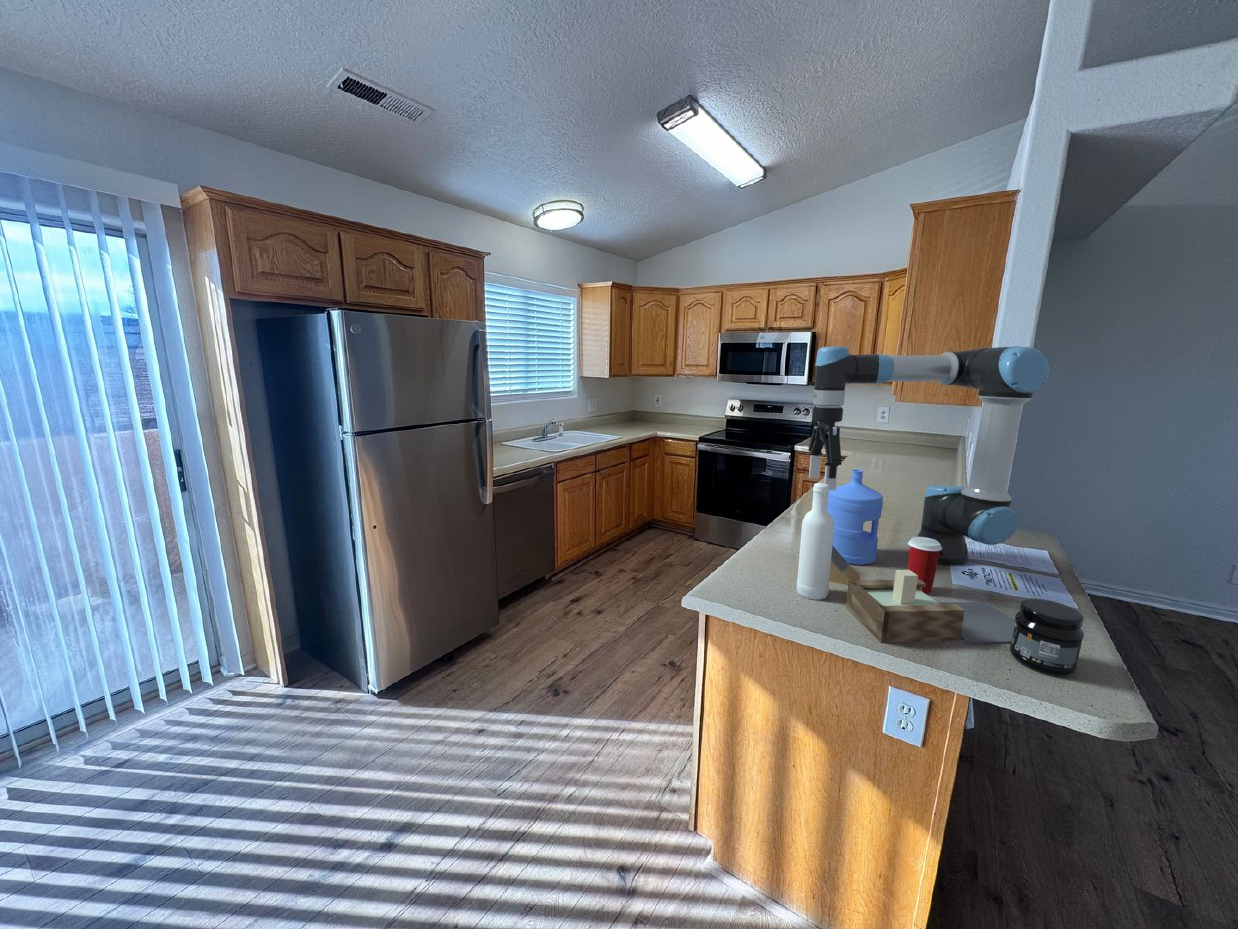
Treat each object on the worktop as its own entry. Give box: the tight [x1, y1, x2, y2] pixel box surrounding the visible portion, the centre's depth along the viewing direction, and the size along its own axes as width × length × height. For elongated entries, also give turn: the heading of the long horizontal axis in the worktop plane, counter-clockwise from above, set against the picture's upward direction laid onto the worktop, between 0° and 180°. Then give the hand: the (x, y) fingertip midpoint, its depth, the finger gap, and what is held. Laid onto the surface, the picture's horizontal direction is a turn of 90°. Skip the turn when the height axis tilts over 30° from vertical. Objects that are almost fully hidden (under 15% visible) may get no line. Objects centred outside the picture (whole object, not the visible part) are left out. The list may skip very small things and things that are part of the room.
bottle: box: [796, 482, 834, 601], centre depth 127 cm, size 8×8×30 cm
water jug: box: [827, 469, 884, 566], centre depth 152 cm, size 16×16×28 cm
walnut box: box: [845, 579, 965, 643], centre depth 114 cm, size 18×15×7 cm
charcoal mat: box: [936, 601, 1015, 645], centre depth 115 cm, size 18×18×1 cm
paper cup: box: [907, 536, 942, 595], centre depth 131 cm, size 8×8×14 cm
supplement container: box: [1009, 597, 1085, 677], centre depth 99 cm, size 10×10×12 cm
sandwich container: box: [829, 545, 861, 586], centre depth 139 cm, size 9×15×15 cm, turn 57°
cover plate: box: [864, 569, 940, 606], centre depth 113 cm, size 15×13×8 cm
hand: (821, 483), depth 134 cm, fingers open, 13 cm apart
